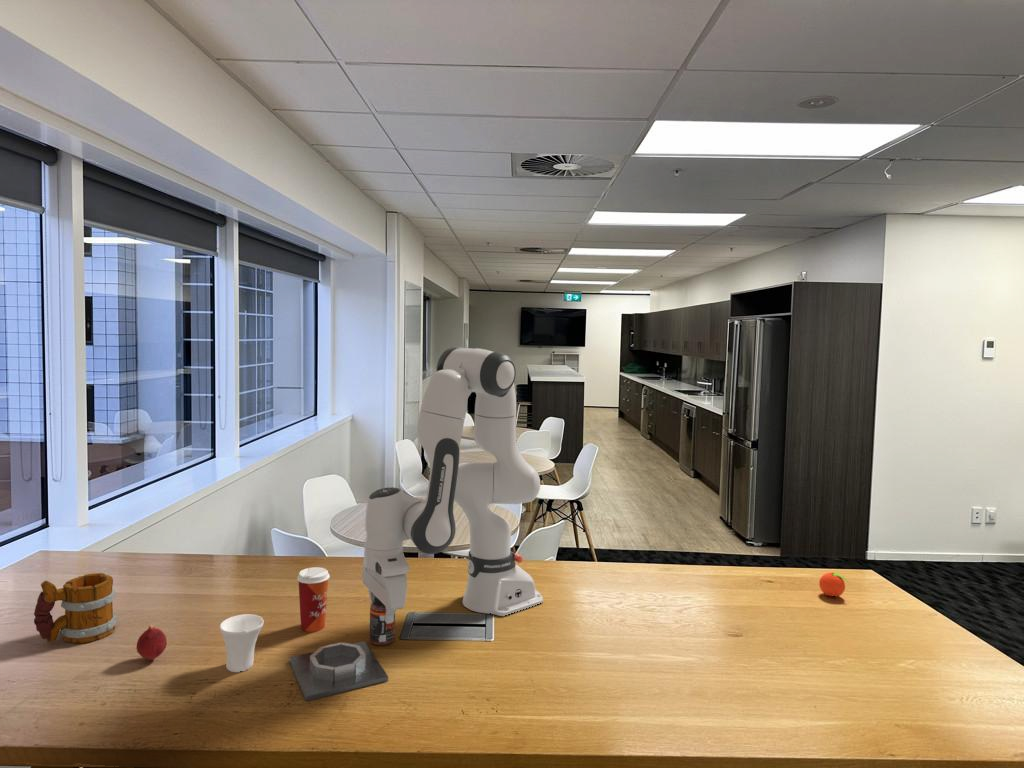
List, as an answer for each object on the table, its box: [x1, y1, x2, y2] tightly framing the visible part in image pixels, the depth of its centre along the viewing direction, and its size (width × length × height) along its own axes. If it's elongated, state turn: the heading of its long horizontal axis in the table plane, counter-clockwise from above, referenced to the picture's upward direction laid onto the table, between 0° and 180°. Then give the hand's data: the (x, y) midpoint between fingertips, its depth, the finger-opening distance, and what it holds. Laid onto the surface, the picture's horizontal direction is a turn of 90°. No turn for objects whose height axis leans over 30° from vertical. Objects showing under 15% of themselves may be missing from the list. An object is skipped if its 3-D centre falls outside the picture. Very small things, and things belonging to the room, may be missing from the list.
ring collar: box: [288, 641, 389, 702], centre depth 141 cm, size 17×17×4 cm
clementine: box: [818, 572, 850, 598], centre depth 192 cm, size 8×7×7 cm
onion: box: [135, 624, 168, 661], centre depth 143 cm, size 6×6×8 cm
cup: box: [219, 613, 265, 673], centre depth 142 cm, size 9×9×10 cm
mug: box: [33, 572, 118, 644], centre depth 151 cm, size 11×16×15 cm, turn 137°
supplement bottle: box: [368, 596, 396, 646], centre depth 155 cm, size 6×6×11 cm
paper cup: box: [296, 566, 331, 633], centre depth 161 cm, size 8×8×14 cm
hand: (381, 614), depth 154 cm, fingers open, 8 cm apart
